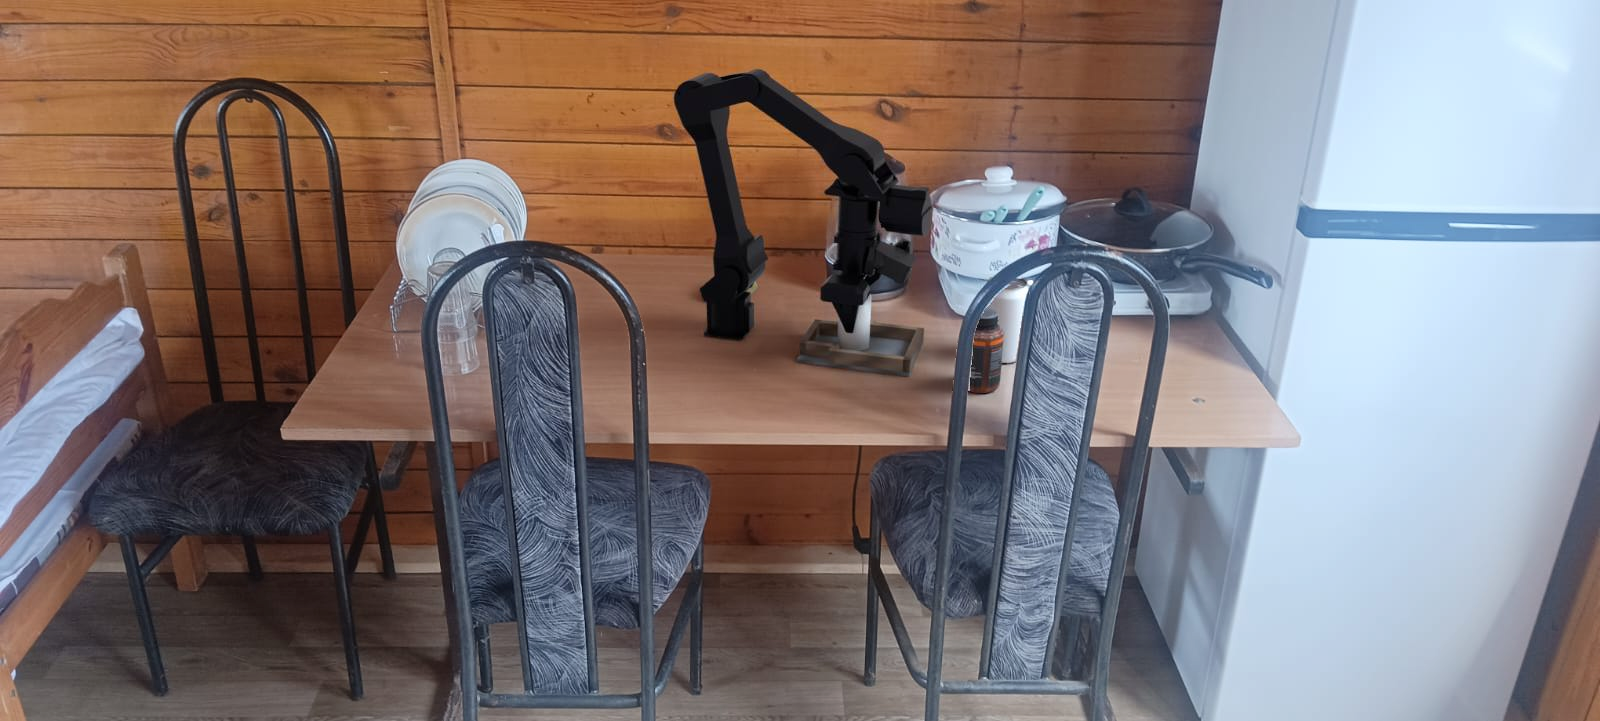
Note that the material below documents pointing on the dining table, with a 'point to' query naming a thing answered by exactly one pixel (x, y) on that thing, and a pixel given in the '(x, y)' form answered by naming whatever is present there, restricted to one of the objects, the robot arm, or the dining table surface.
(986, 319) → the supplement bottle
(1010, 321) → the can
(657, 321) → the dining table surface
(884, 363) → the tray
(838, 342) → the peg
